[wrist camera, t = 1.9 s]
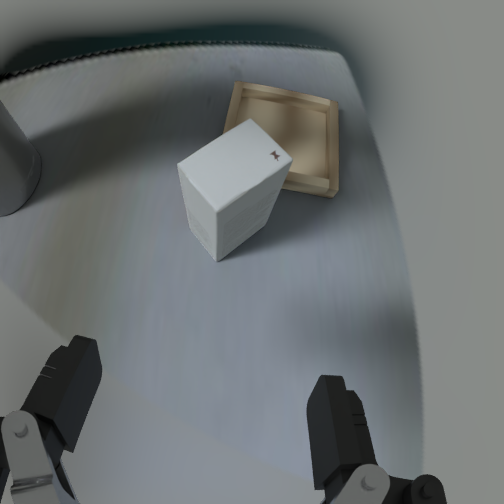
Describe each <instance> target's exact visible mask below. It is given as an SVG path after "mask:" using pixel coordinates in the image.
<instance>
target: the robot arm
mask: <svg viewBox="0 0 504 504" xmlns="http://www.w3.org/2000/svg"><path fill="white" fill-rule="evenodd" d="M40 173H41V159H40V156H39V153H38V152H37V151H36V149H35V148H34V147H33V145H32V144H31V143H30V141H29V140H28V139H27V137H26V136H25V134H24V133H23V131H22V130H21V129H20V127H19V126H18V125H17V123H16V122H15V120H14V119H13V118H12V116H11V115H10V113H9V112H8V110H7V109H6V108H5V106H4V105H3V103H2V102H1V100H0V216H5V215H8V214H11V213H13V212H14V211H16V210H17V209H19V208H20V207H21V206H22V205H23V204H24V203H25V202H26V201H27V200H28V198H29V197H30V196H31V194H32V193H33V191H34V189H35V187H36V185H37V183H38V180H39V177H40ZM101 377H102V365H101V360H100V356H99V351H98V346H97V342H96V340H95V339H91V338H87V337H83V336H79V335H75V336H74V337H73V339H72V340H71V342H70V344H69V346H68V347H65V346H62V345H61V346H60V347H59V348H58V349H56V350H55V351H54V352H53V353H52V354H51V355H50V357H49V358H48V360H47V362H46V364H45V367H43V369H42V371H41V372H40V376H38V378H37V380H36V381H35V383H34V385H33V387H32V389H31V391H30V393H29V395H28V397H27V398H26V400H25V402H24V404H23V406H22V407H21V409H20V410H18V411H13V412H11V413H9V414H8V415H7V416H6V417H0V503H1V499H2V495H3V492H4V488H5V485H6V482H7V478H8V475H9V472H10V471H11V475H12V478H13V486H11V496H12V499H13V502H14V504H80V503H79V501H78V499H77V497H76V494H75V492H74V490H73V487H72V485H71V483H70V480H69V478H68V475H67V473H66V470H65V468H64V465H63V462H62V459H61V455H62V452H63V450H67V451H69V452H72V453H73V452H74V449H75V446H76V443H77V440H78V437H79V435H80V432H81V429H82V427H83V424H84V422H85V419H86V416H87V414H88V411H89V408H90V406H91V404H92V401H93V398H94V396H95V394H96V391H97V389H98V386H99V384H100V381H101ZM364 415H365V413H364V409H363V405H362V401H361V400H360V399H359V397H358V396H357V394H356V393H355V392H354V391H352V390H346V386H345V382H344V379H343V377H342V376H333V375H321V376H320V377H319V379H318V381H317V383H316V385H315V387H314V389H313V391H312V393H311V395H310V397H309V399H308V403H307V422H308V431H309V440H310V449H311V458H312V468H313V478H314V487H315V490H325V498H324V499H323V500H322V501H321V503H320V504H447V502H446V497H445V493H444V489H443V485H442V483H441V482H440V480H439V479H438V478H436V477H435V476H432V475H428V474H427V475H421V476H419V477H417V478H416V479H415V480H408V479H402V478H396V477H392V476H390V475H388V474H387V473H386V471H385V470H384V469H383V468H381V467H379V466H378V464H377V462H376V459H375V454H374V450H373V446H372V441H371V437H370V433H369V429H368V426H367V421H366V417H365V416H364Z"/></svg>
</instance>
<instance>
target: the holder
mask: <svg viewBox="0 0 504 504" xmlns="http://www.w3.org/2000/svg"><path fill="white" fill-rule="evenodd" d="M248 119H252V120H253V121H254V122H255V123H257V124H258V125H259V126H260V127H261V128H262V129H263V130H264V131H265V132H266V133H267V134H268V135H269V136H270V137H271V138H272V139H273V140H274V141H275V142H276V143H277V144H278V145H279V146H280V147H281V148H282V149H283V150H284V151H286V152H287V153H288V154H289V155H290V156H291V157H292V158H293V162H292V164H291V167H290V169H289V172H288V174H287V176H286V178H285V181H284V183H283V185H282V189H287V190H292V191H297V192H302V193H308V194H313V195H317V196H322V197H327V198H333V197H334V196H335V194H336V193H337V192H338V191H339V122H338V102H336V101H332V100H328V99H325V98H321V97H316V96H312V95H308V94H304V93H299V92H295V91H290V90H285V89H280V88H275V87H270V86H265V85H259V84H253V83H247V82H241V81H235V84H234V89H233V93H232V97H231V101H230V105H229V109H228V113H227V118H226V122H225V126H224V131H223V134H224V133H226V132H228V131H229V130H231V129H233V128H234V127H236V126H238V125H239V124H241V123H243V122H245V121H246V120H248Z"/></svg>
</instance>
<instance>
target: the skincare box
mask: <svg viewBox="0 0 504 504" xmlns="http://www.w3.org/2000/svg"><path fill="white" fill-rule="evenodd" d="M292 162H293V158H292V157H291V156H290V155H289V154H288V153H287V152H286V151H284V150H283V149H282V148H281V147H280V146H279V145H278V144H277V143H276V142H275V141H274V140H273V139H272V138H271V137H270V136H269V135H268V134H267V133H266V132H265V131H264V130H263V129H262V128H261V127H260V126H259V125H258V124H257V123H255V122H254V121H253V120H252V119H248V120H246V121H245V122H243V123H241V124H239V125H238V126H236V127H234V128H233V129H231V130H229V131H228V132H226V133H224V134H223V135H221V136H220V137H218V138H217V139H215V140H213V141H212V142H210V143H209V144H207V145H206V146H204V147H203V148H201V149H199V150H198V151H196V152H195V153H193V154H192V155H190V156H189V157H187V158H186V159H184V160H183V161H181V162H179V163H178V164H177V167H178V173H179V178H180V183H181V188H182V193H183V197H184V202H185V207H186V212H187V217H188V222H189V227H190V230H191V231H192V233H193V234H194V235H195V236H196V237H197V239H198V240H199V241H200V242H201V244H202V245H203V246H204V248H205V249H206V250H207V251H208V253H209V254H210V255H211V256H212V257H213V259H214V260H215V261H216V262H218V261H220V260H221V259H222V258H224V257H225V256H226V255H227V254H229V253H230V252H231V251H233V250H234V249H235V248H236V247H238V246H239V245H240V244H242V243H243V242H244V241H245V240H247V239H248V238H249V237H251V236H252V235H253V234H254V233H256V232H257V231H258V230H260V229H261V228H262V227H264V226H265V225H266V223H267V220H268V218H269V216H270V213H271V211H272V209H273V206H274V204H275V202H276V199H277V197H278V195H279V192H280V190H281V188H282V185H283V183H284V181H285V178H286V176H287V174H288V172H289V169H290V167H291V164H292Z"/></svg>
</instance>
